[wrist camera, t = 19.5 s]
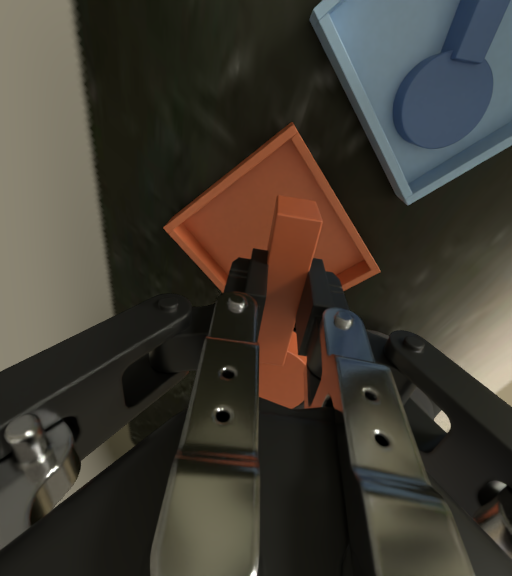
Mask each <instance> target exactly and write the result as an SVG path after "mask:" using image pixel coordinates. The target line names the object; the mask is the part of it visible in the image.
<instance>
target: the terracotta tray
mask: <svg viewBox="0 0 512 576" xmlns="http://www.w3.org/2000/svg"><path fill="white" fill-rule="evenodd" d="M277 195H281V196H287V197H293V198H299V199H305V200H312V201H315V202H316V204H317V207H318V209H319V212H320V215H321V218H322V221H323V223H322V227H321V231H320V234H319V238H318V242H317V245H316V249H315V253H314V256H313V258H317V259H322V260H323V263H324V267H325V271H327V272H333V273H334V274H335V275H336V276H337V277H338V278H339V279H340V282H341V285H342V288H343V291H345V290H347V289H348V288H350V287H352V286H354V285H356V284H358V283H360V282H362V281H364V280H366V279H368V278H370V277H372V276H374V275H376V274H377V273H379V272H381V271H380V269H379V267H378V266H377V264H376V262H375V261H374V259H373V257H372V255H371V254H370V252H369V250H368V249H367V247H366V245H365V244H364V242H363V240H362V239H361V237H360V235H359V234H358V232H357V230H356V228H355V227H354V225H353V223H352V222H351V220H350V218H349V217H348V215H347V213H346V212H345V210H344V208H343V207H342V205H341V203H340V202H339V200H338V198H337V196H336V195H335V193H334V191H333V190H332V188H331V186H330V185H329V183H328V181H327V180H326V178H325V176H324V175H323V173H322V171H321V169H320V168H319V166H318V164H317V163H316V161H315V159H314V158H313V156H312V154H311V153H310V151H309V149H308V148H307V146H306V144H305V142H304V141H303V139H302V137H301V136H300V134H299V132H298V131H297V129H296V127H295V126H294V124H293V122H291V123H290V124H288V125H287V126H286V127H285V128H283V129H282V130H281V131H280V132H278V133H277V134H276V135H275V136H273V137H272V138H271V139H270V140H268V141H267V142H266V143H265V144H263V145H262V146H261V147H260V148H258V149H257V150H256V151H255V152H253V153H252V154H251V155H250V156H248V157H247V158H246V159H245V160H243V161H242V162H241V163H240V164H238V165H237V166H236V167H235V168H233V169H232V170H231V171H230V172H228V173H227V174H226V175H225V176H223V177H222V178H221V179H220V180H218V181H217V182H216V183H215V184H213V185H212V186H211V187H209V188H208V189H207V190H206V191H204V192H203V193H202V194H201V195H199V196H198V197H197V198H196V199H194V200H193V201H192V202H191V203H189V204H188V205H187V206H186V207H184V208H183V209H182V210H181V211H179V212H178V213H177V214H176V215H174V216H173V217H172V218H171V219H170V220H169V222H168V223H167V224H166V225H165V226H164V227H163V229H164V230H165V231H166V232H167V233H169V235H170V236H171V237H172V238H173V239H174V240H175V241H176V242H177V244H178V245H179V246H180V247H181V248H182V249H183V250H184V251H185V252H186V253H187V254H188V255H189V257H190V258H191V259H192V260H193V261H194V262H195V263H196V264H197V265H198V266H199V267H200V268H201V270H202V271H203V272H204V273H205V274H206V275H207V276H208V277H209V278H210V279H211V280H212V281H213V283H214V284H215V285H216V286H217V287H218V288H219V289H220V290H221V291H222V292H224V288H225V285H226V282H227V278H228V275H229V271H230V268H231V264H232V262H233V261H234V260H236V259H237V258H238V257H241V258H247V259H251V255H252V250H253V248H256V249H262V250H267V247H268V242H269V236H270V231H271V225H272V219H273V214H274V208H275V203H276V197H277Z"/></svg>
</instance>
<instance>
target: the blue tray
mask: <svg viewBox="0 0 512 576" xmlns="http://www.w3.org/2000/svg"><path fill="white" fill-rule="evenodd" d="M459 3H460V0H322V1H321V2H320V3H319V4H318V5H317V6H316V7H315V8H314V9H313V11H312V14H311V16H310V19H309V20H310V22H311V24H312V26H313V28H314V30H315V32H316V34H317V36H318V38H319V40H320V42H321V44H322V47H323V49H324V51H325V53H326V55H327V57H328V59H329V61H330V63H331V65H332V67H333V69H334V71H335V73H336V75H337V77H338V79H339V81H340V83H341V85H342V87H343V89H344V91H345V93H346V95H347V97H348V99H349V101H350V103H351V105H352V107H353V109H354V111H355V113H356V115H357V117H358V119H359V121H360V123H361V125H362V127H363V129H364V131H365V133H366V135H367V137H368V140H369V142H370V144H371V146H372V148H373V150H374V152H375V154H376V156H377V158H378V160H379V162H380V164H381V166H382V168H383V170H384V172H385V174H386V176H387V178H388V180H389V182H390V184H391V186H392V188H393V190H394V192H395V194H396V196H397V197H398V198H400V199H401V200H402V201H403V202H404V203H406V204H407V205H410V204H411V203H413V202H415V201H416V200H418V199H420V198H422V197H423V196H425V195H427V194H429V193H430V192H432V191H434V190H435V189H437V188H439V187H441V186H442V185H444V184H446V183H447V182H449V181H451V180H453V179H454V178H456V177H458V176H459V175H461V174H463V173H465V172H466V171H468V170H470V169H471V168H473V167H475V166H477V165H478V164H480V163H482V162H483V161H485V160H487V159H489V158H490V157H492V156H494V155H496V154H497V153H499V152H501V151H502V150H504V149H506V148H508V147H509V146H511V145H512V0H511V1H510V3H509V5H508V7H507V10H506V12H505V14H504V16H503V18H502V21H501V23H500V25H499V27H498V30H497V32H496V34H495V36H494V38H493V41H492V43H491V45H490V47H489V50H488V52H487V54H486V56H485V59H486V61H487V62H488V64H489V65H490V68H491V70H492V74H493V93H492V98H491V101H490V104H489V106H488V108H487V111H486V112H485V114H484V116H483V118H482V119H481V121H480V122H479V123H478V124H477V126H476V127H475V128H474V129H473V130H472V131H471V132H470V133H469V134H468V135H466V136H465V137H464V138H462V139H461V140H459V141H458V142H456V143H454V144H452V145H450V146H447V147H444V148H439V149H426V148H422V147H419V146H416V145H414V144H411V143H409V142H407V141H405V140H404V139H403V138H402V137H401V136H400V135H399V133H398V132H397V130H396V128H395V125H394V121H393V104H394V99H395V96H396V93H397V91H398V88H399V86H400V85H401V83H402V81H403V80H404V78H405V77H406V76H407V74H408V73H409V72H410V71H411V70H412V69H413V68H414V67H415V66H416V65H417V64H418V63H420V62H421V61H423V60H424V59H426V58H428V57H430V56H432V55H435V54H438V53H440V52H441V50H442V47H443V45H444V42H445V39H446V37H447V34H448V31H449V29H450V26H451V24H452V21H453V18H454V16H455V13H456V10H457V8H458V5H459Z"/></svg>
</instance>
